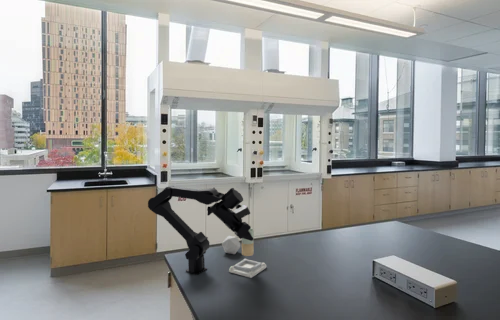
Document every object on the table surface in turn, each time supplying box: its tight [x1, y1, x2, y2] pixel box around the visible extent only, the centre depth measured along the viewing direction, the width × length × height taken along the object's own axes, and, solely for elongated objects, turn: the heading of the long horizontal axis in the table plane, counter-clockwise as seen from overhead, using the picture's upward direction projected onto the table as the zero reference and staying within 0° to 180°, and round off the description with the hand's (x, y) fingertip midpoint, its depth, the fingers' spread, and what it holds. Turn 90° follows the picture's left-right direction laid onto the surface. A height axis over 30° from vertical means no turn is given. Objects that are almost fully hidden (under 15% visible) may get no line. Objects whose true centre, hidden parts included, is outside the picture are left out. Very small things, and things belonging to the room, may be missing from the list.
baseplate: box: [228, 258, 267, 279], centre depth 135 cm, size 12×11×2 cm
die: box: [221, 235, 242, 255], centre depth 155 cm, size 8×9×10 cm
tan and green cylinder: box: [241, 227, 255, 257], centre depth 134 cm, size 5×5×11 cm
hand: (250, 238), depth 135 cm, fingers closed on tan and green cylinder, 5 cm apart
